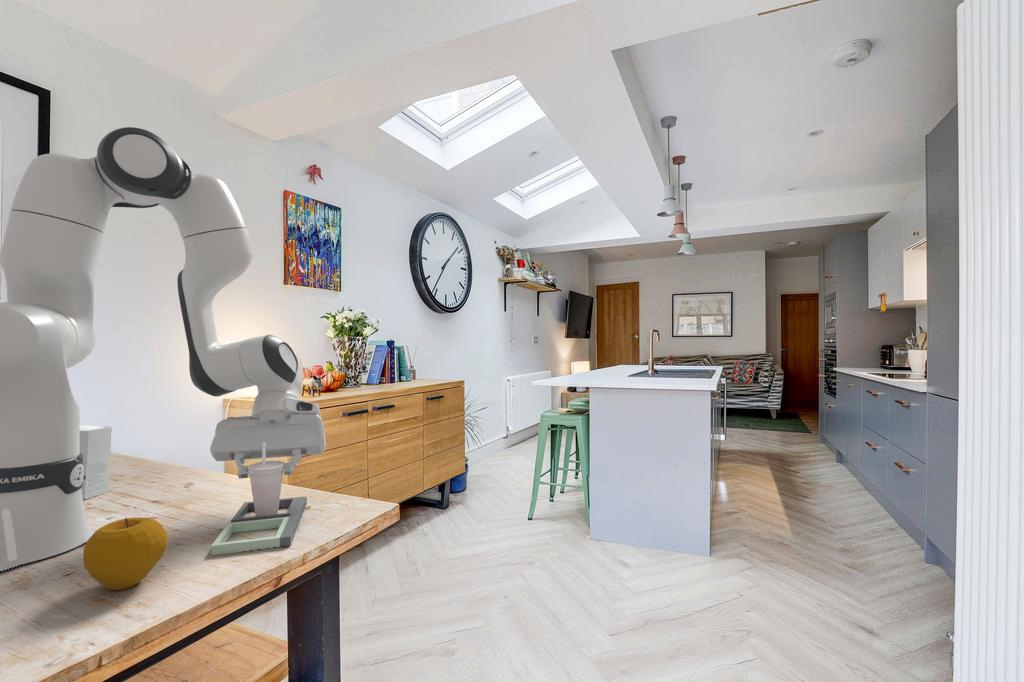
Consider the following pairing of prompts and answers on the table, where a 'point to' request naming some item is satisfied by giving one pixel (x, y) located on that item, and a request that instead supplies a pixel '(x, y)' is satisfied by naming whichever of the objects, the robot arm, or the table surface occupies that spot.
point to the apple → (124, 551)
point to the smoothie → (266, 484)
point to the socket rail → (261, 527)
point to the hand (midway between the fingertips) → (265, 475)
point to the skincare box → (95, 459)
